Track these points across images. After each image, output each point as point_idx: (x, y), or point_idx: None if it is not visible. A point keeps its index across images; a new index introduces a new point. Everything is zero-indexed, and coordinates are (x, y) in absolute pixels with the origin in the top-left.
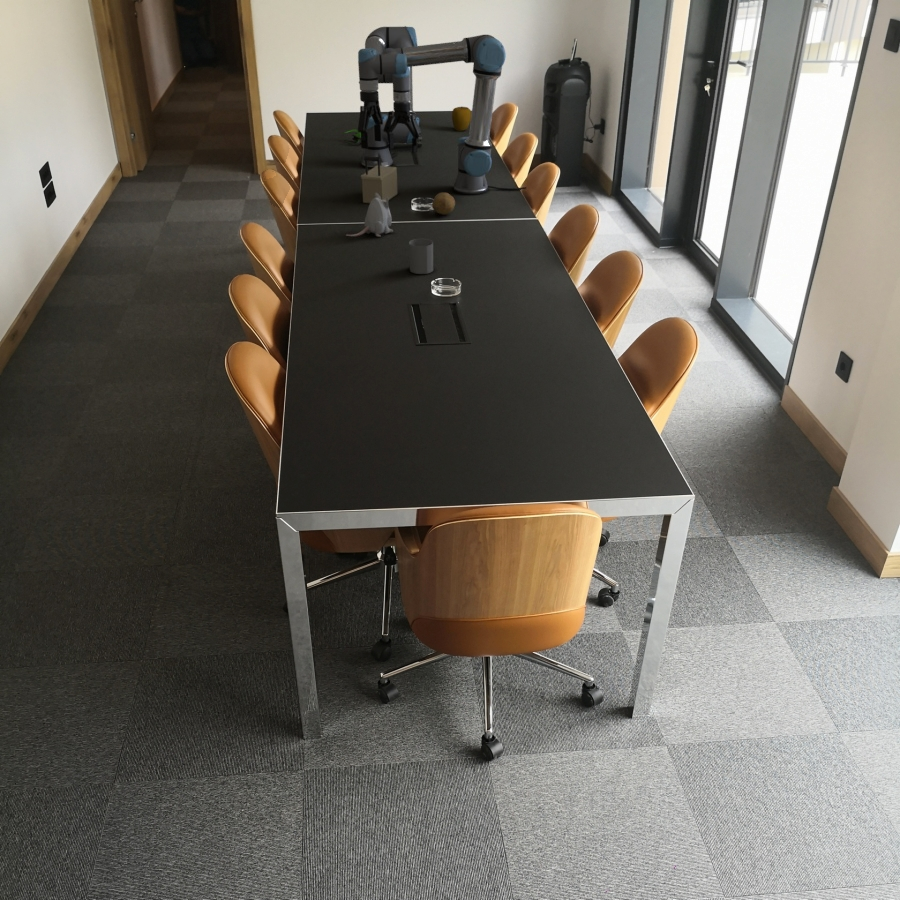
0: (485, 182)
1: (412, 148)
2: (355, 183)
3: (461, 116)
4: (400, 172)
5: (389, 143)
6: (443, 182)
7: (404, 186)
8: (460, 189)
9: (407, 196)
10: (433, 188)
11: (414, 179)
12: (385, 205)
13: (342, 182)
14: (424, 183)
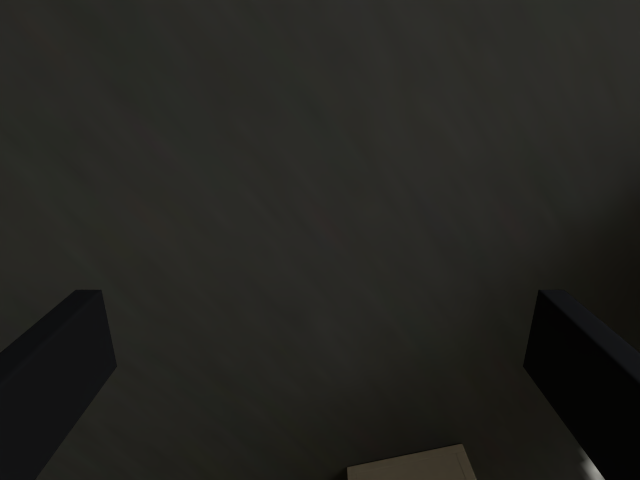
0: None
1: (561, 413)
2: (117, 421)
3: None
4: (133, 21)
5: (62, 424)
6: (631, 63)
7: (411, 314)
8: None
9: (537, 446)
10: (618, 244)
11: (371, 134)
12: None
13: None
14: (499, 180)
